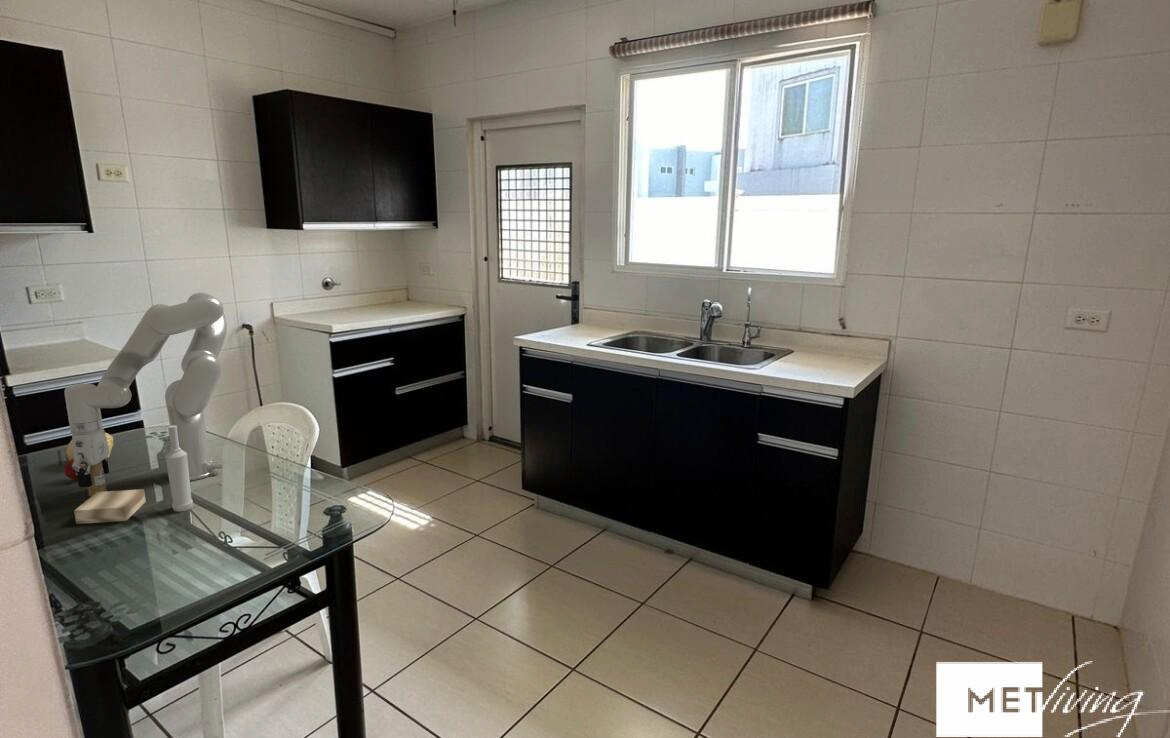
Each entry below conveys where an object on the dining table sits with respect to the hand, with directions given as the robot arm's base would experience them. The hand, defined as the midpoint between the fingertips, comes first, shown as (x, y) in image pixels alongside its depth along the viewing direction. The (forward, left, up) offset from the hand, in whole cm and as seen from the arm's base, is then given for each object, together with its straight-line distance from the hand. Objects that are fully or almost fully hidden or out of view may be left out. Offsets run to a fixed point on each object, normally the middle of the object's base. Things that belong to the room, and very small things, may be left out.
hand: (94, 479), depth 186 cm
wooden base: (-10, +14, -5) cm, 18 cm away
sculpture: (+14, -27, -5) cm, 31 cm away
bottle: (-28, +14, -5) cm, 32 cm away
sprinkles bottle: (0, 0, -5) cm, 5 cm away
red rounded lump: (+11, -12, -5) cm, 17 cm away
